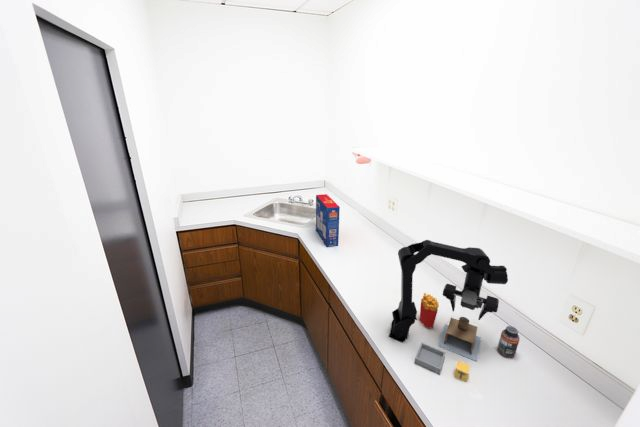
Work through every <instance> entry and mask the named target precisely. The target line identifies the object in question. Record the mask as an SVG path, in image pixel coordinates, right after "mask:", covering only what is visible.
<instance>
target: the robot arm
mask: <svg viewBox="0 0 640 427" xmlns="http://www.w3.org/2000/svg"><path fill="white" fill-rule="evenodd" d="M397 252H398V253H397V256H398V260H399V265H400V269H401V276H400V277H401V283H400V284H401V285H400V287H401V288H400V290H401V291H400V292H401V293H400V294H401V295H400V296H401V297H400V298H401V299H400V301H399V303H398V307H397V308H396V309H395V310H393V311H391V313H392V314H391V315H392V321H391V323H390V332H389V334H388V337H389V338H391V339H393V340H395V341H398V342H401V343H403V344H404V343H405V342H406V340H407V339H408V338H409V334H410V328H411V327H412V325H414V324H415V323H416V321H418V318H417V315H418V314H417V313H418V310H417V308H416V307H417V306H416V304H415V301H413V274H414V272H415V271H416V267H417V265H419V264H421V263H422V262H424V260H425V259H427V258H428V257H429V256H432V255H433V256H436V257H437V256H438V257H442V258H446V259H449V260H450V259H451V260H453V261H459V262H462V263H465V264H463V265H461V269H462V270H463V272H464V273H465V279H464V283H463V288H462V291H461V290H458V289H457V285H454V284H450V283H446V284H445V285H444V288H443V290H442V296H443V297H445V298H446V299H448V300H449V302H450V305H451V306H450V307H451V309H452V312H455V308H456V301H457V298H456V296H457V297H461V299H460V306H461V307H462V308H466V309H470V310H471V311H475V310H476V309H481V310H480V313H479V316H478V321H480V320H481V319H482V318H483V317H484V316H485V314H488V313H498V310H499V302H500V301H499V298H497V297H494V296H490V295H487V296H486V298H485V297H482V296H480V295H481V290H482V287H483V286H482V285H483V281H485V282H486V283H487V284H492V285H493V284H494V285H506V284H507V283H508V281H509V279H508V277H509V276H508V269H507V267H506V266H505V265H491V264H490V263H491V259H490V257H489V256H488V255H487V254H486V253H485V252H484V251H483V249H481V248H480V247H472V246H471V247H470V246H469V247H466V248H465V247H464V248H463V247H458V246H453V245H449V244H444V243H439V242H435V241H432V240H429V239H425V240H423V241H421V242H418V243H411V244H410V245H408V246H404V247H401V248H400V249H398V251H397Z"/></svg>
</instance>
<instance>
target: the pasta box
mask: <svg viewBox="0 0 640 427" xmlns="http://www.w3.org/2000/svg"><path fill="white" fill-rule="evenodd" d="M340 207H341V206H339V205H338V204H337V203H336V201H334V200H333V199H332V198H331V197H330V196H329V194H327V193H325V194H315V232H316V233H317V235H318V234H319V235H318V236H319V237H321V238H320V239H321V240H322V242H323V244H324V245H325V248H333V247H339V240H340V239H339V238H340V237H339V235H340V234H339V233H340V231H339V230H340Z"/></svg>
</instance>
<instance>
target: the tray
mask: <svg viewBox="0 0 640 427" xmlns="http://www.w3.org/2000/svg"><path fill="white" fill-rule="evenodd" d="M416 352H417V353H416V355H415V357H414V363H413V364H414V365H417V366H419V367H422V368H424V369H426V370H428V371H430V372H432V373H435V374H437V375H440V374H441V370H442V367H443V364H444V360H445V358H446V357H445V356H446V353H447V352H446V351H443V350H441V349H439V348H436V347H434V346H431V345H430V344H429V345H428V344H427V343H424V342H421V343H420V345H419V347H418V350H417V351H416Z"/></svg>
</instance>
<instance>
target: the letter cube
mask: <svg viewBox="0 0 640 427" xmlns="http://www.w3.org/2000/svg"><path fill="white" fill-rule="evenodd" d="M470 366H471V365H470V364H467V363H465V362H463V361H460V360H457V362H456V366H455V370H454V375H453V377H454V378H456V379H458V380H461V381H463V382H465V383H467V380H468V378H469V372H470V368H471V367H470Z"/></svg>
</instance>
